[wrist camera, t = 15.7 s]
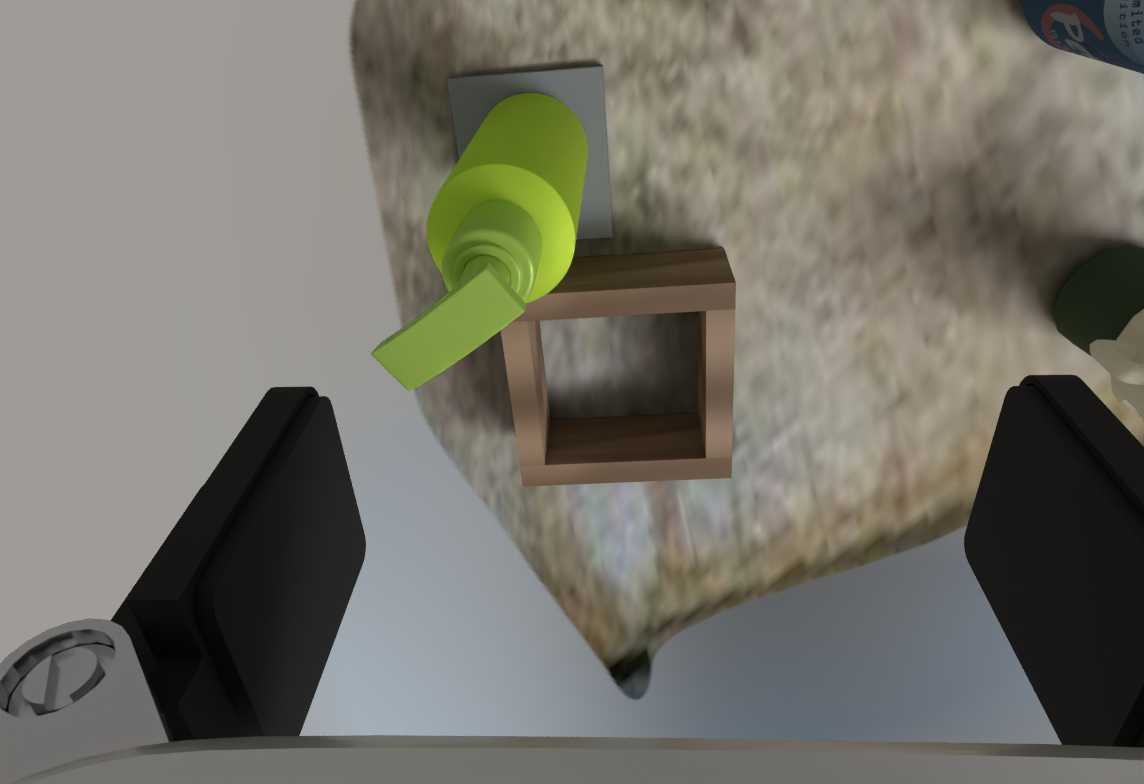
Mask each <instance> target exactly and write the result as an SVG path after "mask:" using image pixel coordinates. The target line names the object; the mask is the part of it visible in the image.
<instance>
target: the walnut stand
mask: <svg viewBox="0 0 1144 784" xmlns="http://www.w3.org/2000/svg"><path fill="white" fill-rule="evenodd" d="M735 291H736V282H735V279H734V276H733V273H732V270H731V267H730V264H729V261H728V258H727V256H726V253H725V250H724V248H718V249H702V250H686V251H671V252H655V253H639V254H623V255H608V256H592V257H576V258H573V259H572V262H571V265H570V267H569V269H568V271H567V273H566V274H565V276H564V277H563V279H562V280H561V281H560V282H559V284H558V285H557V286H556V287H555V288H553V289H552V290H551V291H550V292H548V293H547V294H546V295H544V296H542V297H540V298H539V299H536V300H534V301H532V302H529V303H525V304H526V307H525V311H524V313H522V314H521V315H520V316H518V317H517V318H516V319H515V320H513V321H512V322H511V323H509V324H508V325H507V326H505V327H504V328H503V329H501V337H502V344H503V351H504V357H505V364H506V371H507V378H508V385H509V392H510V399H511V406H512V413H513V420H514V427H515V434H516V441H517V448H518V455H519V462H520V469H521V476H522V483H523V486H544V485H569V484H593V483H617V482H642V481H666V480H691V479H715V478H731V474H732V429H733V383H734V337H735ZM695 311H698V413H684V414H663V415H642V416H621V417H600V418H579V419H558V420H551V419H550V410H549V402H548V393H547V384H546V376H545V367H544V358H543V350H542V341H541V332H540V324H539V320H556V319H574V318H591V317H608V316H626V315H643V314H661V313H678V312H695Z"/></svg>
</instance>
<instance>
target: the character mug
mask: <svg viewBox="0 0 1144 784" xmlns="http://www.w3.org/2000/svg"><path fill="white" fill-rule="evenodd" d="M1053 316H1054V319H1055V322H1056V326H1057V329H1058V331H1059V332H1060V333H1061V334H1062V335H1063V336H1064V337H1066V338H1067V339H1068V340H1069V341H1070V342H1072V343H1073V344H1074V345H1076V346H1077V347H1079V348H1080V349H1082V350H1083V351H1085V352H1086V353H1087V354H1089V355H1090V356H1092V357H1093V358H1094V359H1095V360H1096V361H1098V362H1099V363H1100V364H1101V365H1102V366H1103V367H1104V368H1105V369H1106V370H1107V371H1108V372H1110V375H1111V383H1112V391H1113V393H1114V395H1115V397H1116V398H1117V399H1118V401H1119V402H1120V403H1121V404H1122V405H1123V406H1125V407H1126V408H1127V409H1128V410H1129V411H1131V412H1132V413H1134V414H1136V415H1137V416H1139V417H1141V418H1142V419H1143V421H1144V248H1141V247H1135V246H1129V245H1127V246H1123V247H1120V248H1116V249H1113V250H1109V251H1106V252H1102V253H1100V254H1099V255H1097V256H1096V257H1094V258H1093V259H1092V260H1090V261H1089V262H1087V263H1086V264H1084V265H1083V266H1082V267H1080V268H1079V269H1077V271H1076V272H1075V273H1074V274H1073V276H1072V277H1071V278H1070V280H1069V281H1068V282H1067V283H1066V285H1065V286H1064V287H1063V289H1062V290H1061V291H1060V294H1059V296H1058V299H1057V301H1056V304H1055V307H1054V309H1053Z"/></svg>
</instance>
